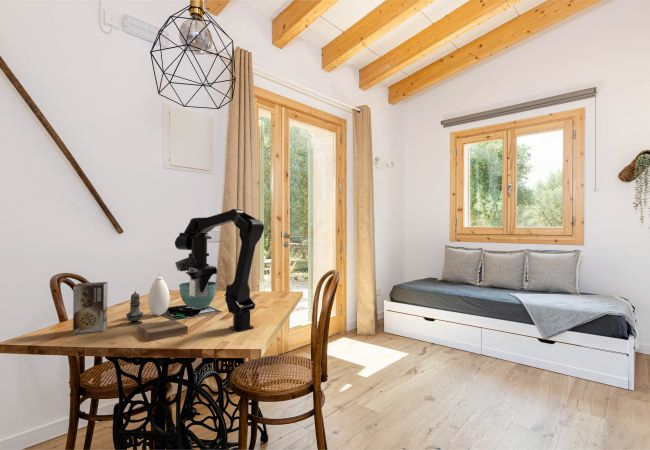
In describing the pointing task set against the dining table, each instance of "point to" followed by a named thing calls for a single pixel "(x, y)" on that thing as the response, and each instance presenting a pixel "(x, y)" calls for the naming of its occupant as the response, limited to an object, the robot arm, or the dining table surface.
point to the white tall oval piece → (158, 297)
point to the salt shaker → (134, 311)
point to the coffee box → (89, 307)
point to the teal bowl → (200, 300)
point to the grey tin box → (197, 288)
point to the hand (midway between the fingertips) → (198, 291)
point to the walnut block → (162, 330)
